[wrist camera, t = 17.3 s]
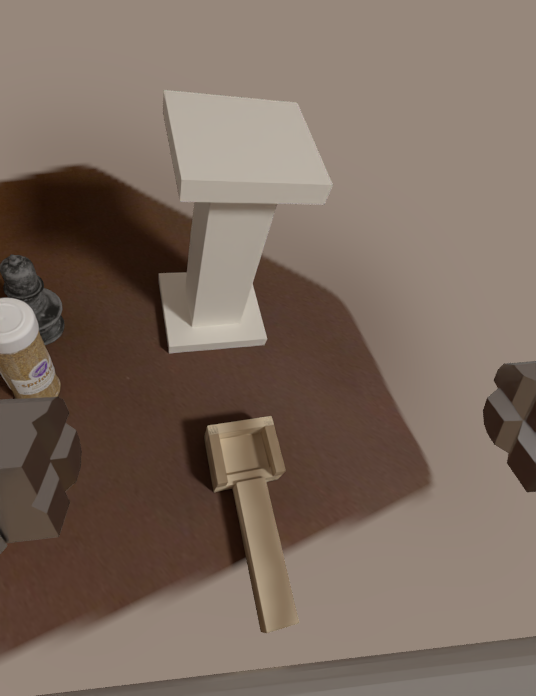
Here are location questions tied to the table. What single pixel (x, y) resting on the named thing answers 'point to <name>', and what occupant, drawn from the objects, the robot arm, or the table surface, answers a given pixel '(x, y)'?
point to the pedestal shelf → (231, 208)
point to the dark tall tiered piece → (33, 295)
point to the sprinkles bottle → (24, 353)
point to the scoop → (254, 509)
